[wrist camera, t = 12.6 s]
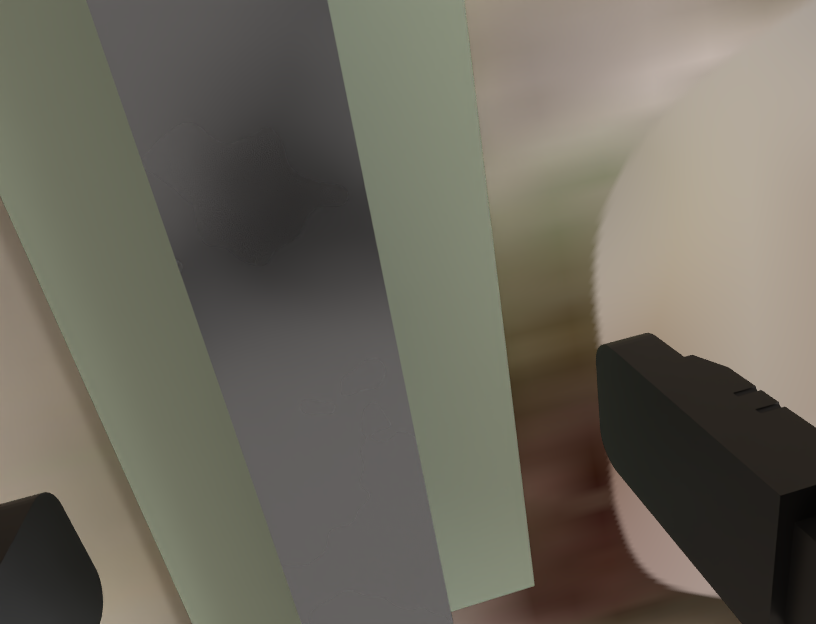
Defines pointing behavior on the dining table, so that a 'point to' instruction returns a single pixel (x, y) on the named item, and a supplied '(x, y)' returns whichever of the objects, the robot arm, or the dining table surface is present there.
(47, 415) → the dining table surface
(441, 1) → the mat
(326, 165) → the rail
